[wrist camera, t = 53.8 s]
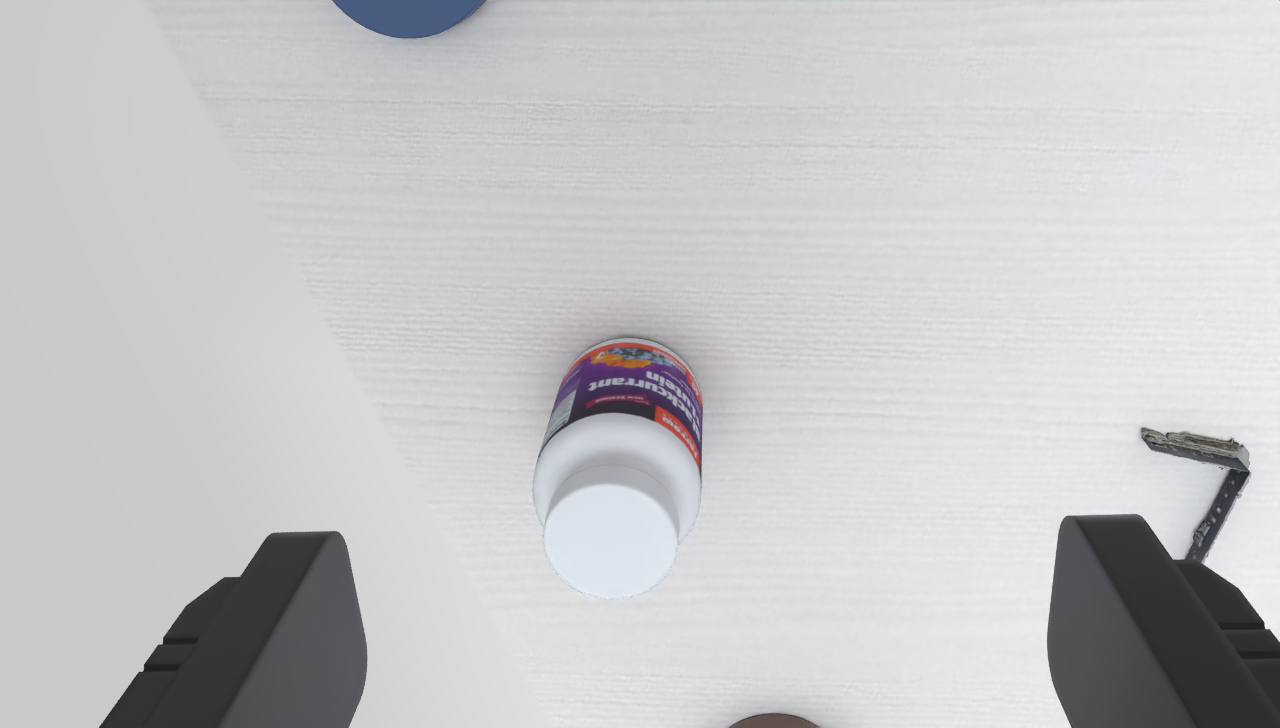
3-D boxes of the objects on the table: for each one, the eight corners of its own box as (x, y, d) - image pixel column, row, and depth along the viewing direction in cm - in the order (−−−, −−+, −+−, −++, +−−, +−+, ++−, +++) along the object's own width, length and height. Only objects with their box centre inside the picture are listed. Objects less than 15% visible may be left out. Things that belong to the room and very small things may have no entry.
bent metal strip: (1100, 468, 39) (1240, 410, 38) (1089, 449, 40) (1223, 392, 39) (1168, 611, 42) (1301, 561, 40) (1155, 589, 43) (1284, 541, 41)
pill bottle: (726, 366, 40) (733, 506, 31) (667, 482, 42) (658, 644, 33) (590, 310, 39) (556, 436, 30) (537, 431, 41) (492, 582, 32)
